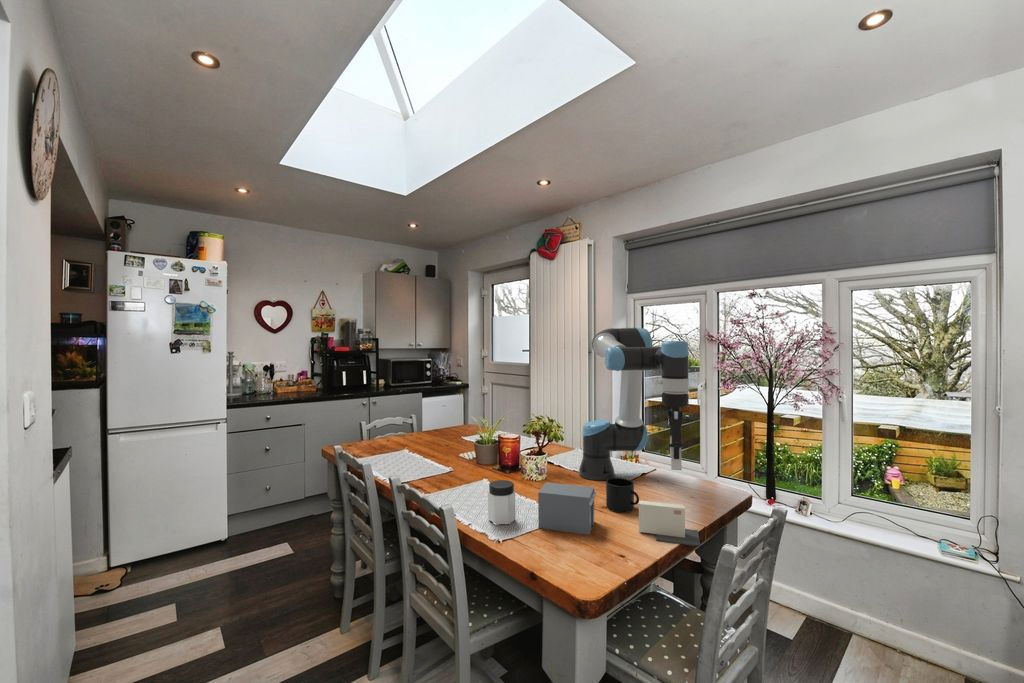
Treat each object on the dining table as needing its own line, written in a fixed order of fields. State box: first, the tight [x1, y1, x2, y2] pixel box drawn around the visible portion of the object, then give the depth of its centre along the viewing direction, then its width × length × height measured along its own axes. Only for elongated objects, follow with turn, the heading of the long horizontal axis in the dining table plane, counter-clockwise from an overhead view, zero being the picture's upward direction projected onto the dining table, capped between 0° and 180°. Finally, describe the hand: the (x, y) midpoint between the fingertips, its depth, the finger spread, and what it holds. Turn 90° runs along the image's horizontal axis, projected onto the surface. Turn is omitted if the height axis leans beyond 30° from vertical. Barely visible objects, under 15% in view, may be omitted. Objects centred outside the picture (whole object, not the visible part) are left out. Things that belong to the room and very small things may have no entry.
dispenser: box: [537, 482, 597, 536], centre depth 138 cm, size 10×17×11 cm, turn 71°
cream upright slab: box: [638, 499, 686, 538], centre depth 131 cm, size 3×13×8 cm, turn 71°
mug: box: [605, 477, 640, 513], centre depth 151 cm, size 9×12×9 cm
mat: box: [655, 528, 702, 548], centre depth 130 cm, size 10×12×1 cm
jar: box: [487, 479, 516, 525], centre depth 142 cm, size 9×8×12 cm
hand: (675, 463), depth 130 cm, fingers open, 13 cm apart
